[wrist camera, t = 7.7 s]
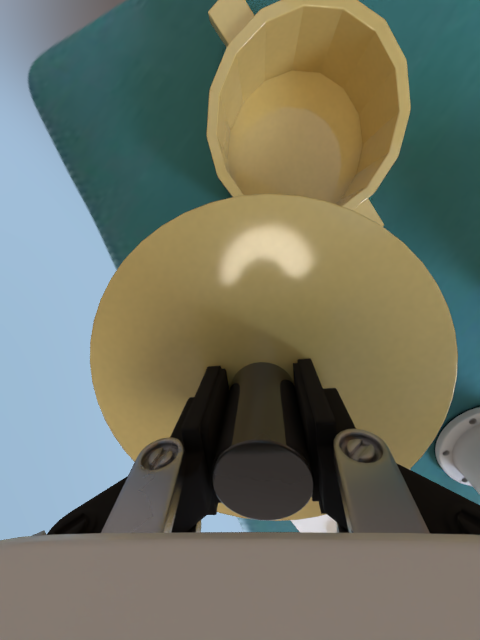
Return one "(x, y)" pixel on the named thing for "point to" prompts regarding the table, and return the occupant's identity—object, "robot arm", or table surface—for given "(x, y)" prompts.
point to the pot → (307, 101)
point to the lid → (273, 340)
